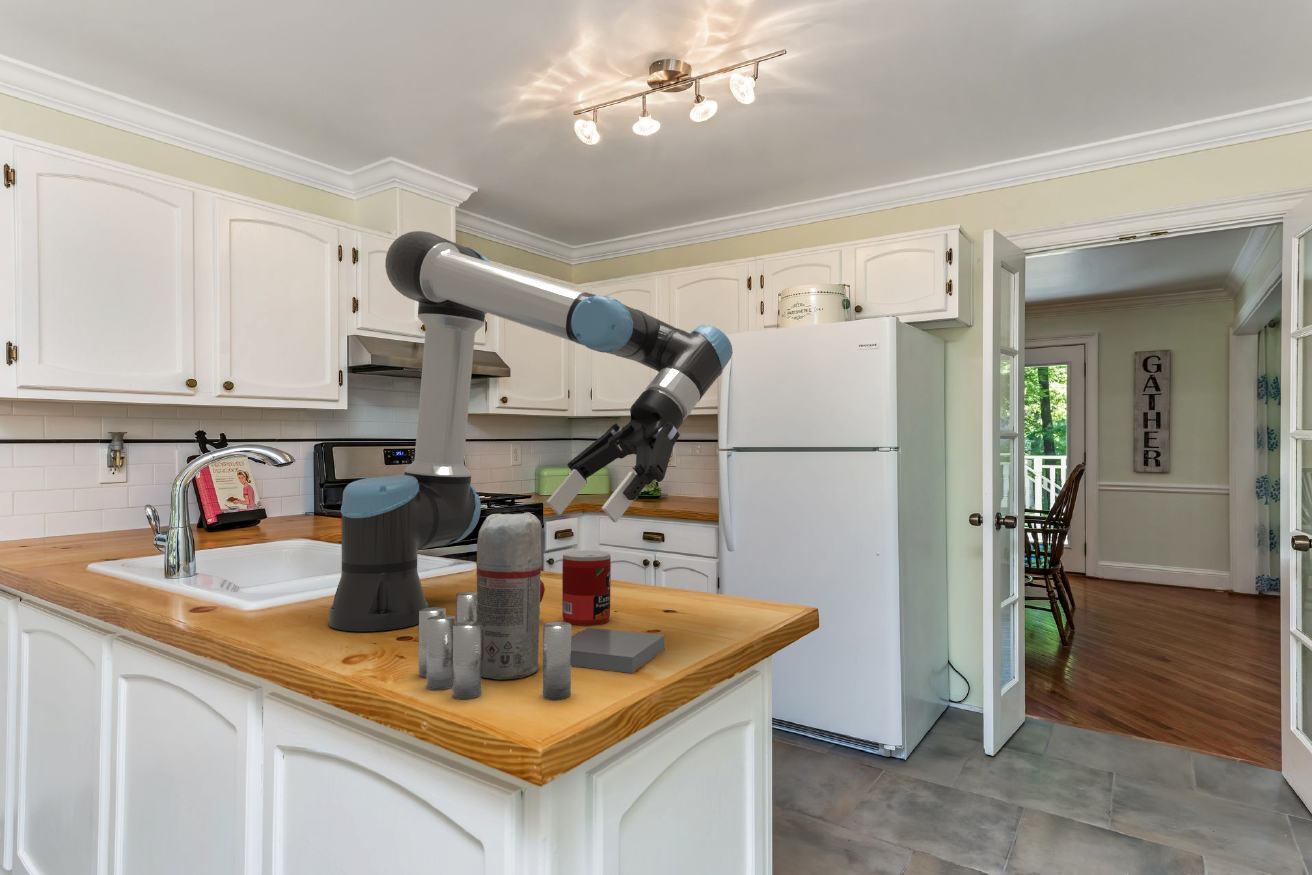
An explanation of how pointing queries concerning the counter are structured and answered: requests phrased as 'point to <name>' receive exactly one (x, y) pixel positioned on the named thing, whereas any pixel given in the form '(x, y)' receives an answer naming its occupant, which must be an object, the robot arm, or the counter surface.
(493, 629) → the spray can
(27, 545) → the counter surface
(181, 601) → the counter surface
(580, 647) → the slate board
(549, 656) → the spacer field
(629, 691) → the counter surface
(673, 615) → the counter surface
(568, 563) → the canned food
